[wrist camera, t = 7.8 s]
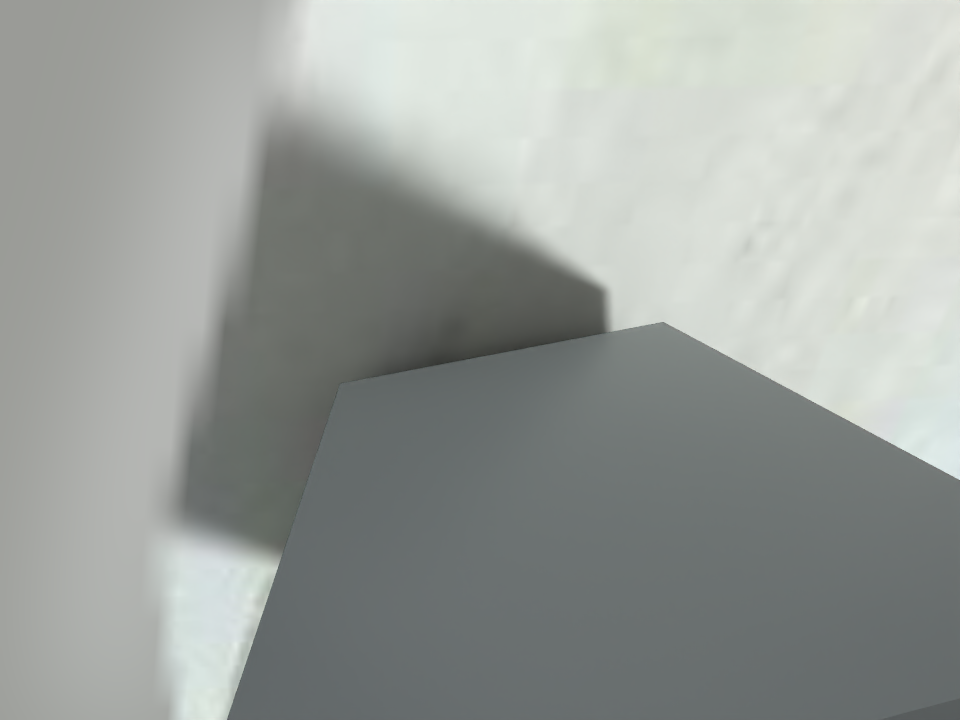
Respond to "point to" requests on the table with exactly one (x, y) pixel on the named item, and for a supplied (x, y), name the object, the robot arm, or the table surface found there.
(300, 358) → the table surface
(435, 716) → the matte grey cube
